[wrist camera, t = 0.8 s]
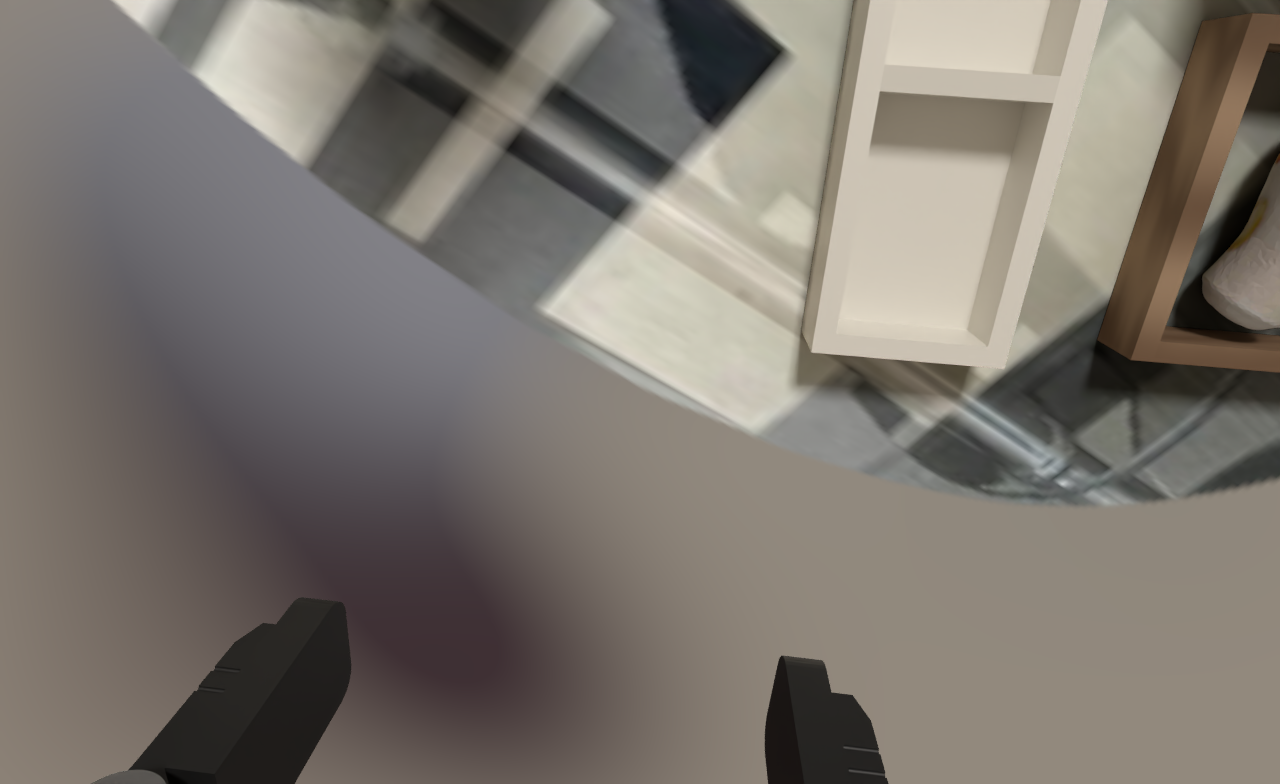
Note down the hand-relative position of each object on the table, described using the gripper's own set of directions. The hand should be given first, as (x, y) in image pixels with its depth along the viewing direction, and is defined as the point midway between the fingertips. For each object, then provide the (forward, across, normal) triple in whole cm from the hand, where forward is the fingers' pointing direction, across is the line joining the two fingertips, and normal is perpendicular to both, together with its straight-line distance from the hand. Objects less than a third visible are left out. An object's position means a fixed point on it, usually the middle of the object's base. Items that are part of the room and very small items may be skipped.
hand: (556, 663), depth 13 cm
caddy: (+26, -12, -11) cm, 31 cm away
